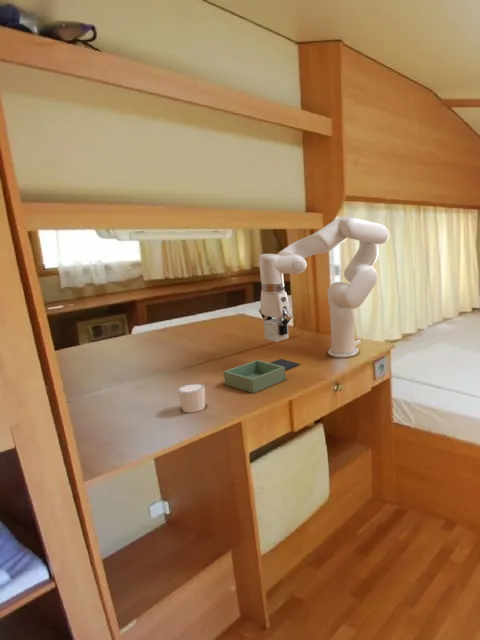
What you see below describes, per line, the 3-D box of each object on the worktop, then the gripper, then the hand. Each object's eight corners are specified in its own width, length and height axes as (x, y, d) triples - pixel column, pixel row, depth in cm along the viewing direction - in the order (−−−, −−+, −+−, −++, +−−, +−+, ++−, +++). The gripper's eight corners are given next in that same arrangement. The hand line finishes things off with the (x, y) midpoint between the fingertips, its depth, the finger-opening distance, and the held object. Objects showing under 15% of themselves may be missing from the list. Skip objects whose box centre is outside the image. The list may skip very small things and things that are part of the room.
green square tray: (258, 372, 162) (257, 359, 160) (285, 379, 157) (284, 367, 156) (224, 384, 149) (223, 371, 148) (253, 393, 145) (252, 379, 144)
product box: (264, 339, 163) (262, 320, 161) (278, 335, 169) (276, 317, 166) (275, 342, 161) (274, 323, 159) (289, 338, 166) (288, 320, 164)
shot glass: (201, 413, 130) (198, 392, 128) (176, 413, 128) (172, 392, 126) (211, 403, 136) (208, 383, 134) (186, 403, 135) (183, 383, 133)
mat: (280, 359, 175) (280, 359, 174) (299, 364, 171) (299, 363, 171) (259, 367, 166) (259, 366, 165) (278, 372, 162) (278, 371, 162)
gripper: (298, 289, 159) (301, 334, 165) (264, 282, 165) (268, 327, 170) (282, 292, 153) (285, 339, 158) (247, 285, 158) (251, 331, 163)
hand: (276, 332), depth 164 cm, fingers closed on product box, 6 cm apart
